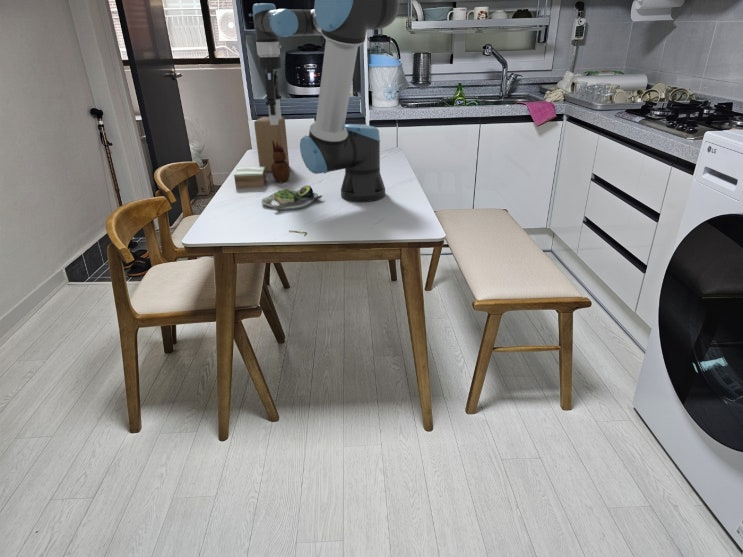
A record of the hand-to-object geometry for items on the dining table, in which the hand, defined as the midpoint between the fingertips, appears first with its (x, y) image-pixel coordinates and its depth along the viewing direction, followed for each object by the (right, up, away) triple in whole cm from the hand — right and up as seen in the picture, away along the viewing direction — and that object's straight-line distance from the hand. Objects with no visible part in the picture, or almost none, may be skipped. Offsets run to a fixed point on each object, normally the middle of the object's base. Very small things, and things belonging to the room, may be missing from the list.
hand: (276, 121), depth 173 cm
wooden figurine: (0, -19, +10) cm, 22 cm away
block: (-5, -12, +25) cm, 28 cm away
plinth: (-10, -21, +7) cm, 24 cm away
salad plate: (+8, -31, -12) cm, 34 cm away
